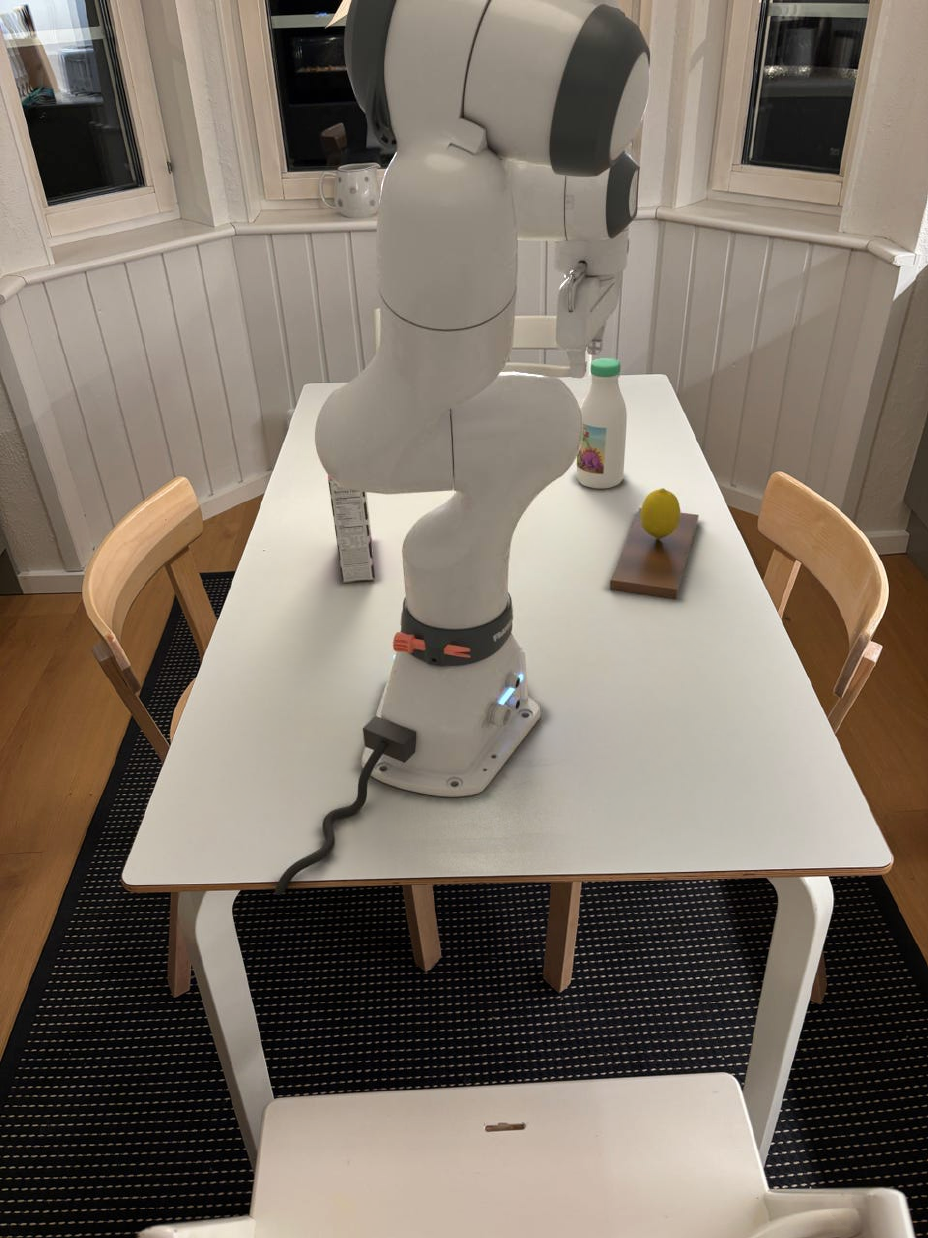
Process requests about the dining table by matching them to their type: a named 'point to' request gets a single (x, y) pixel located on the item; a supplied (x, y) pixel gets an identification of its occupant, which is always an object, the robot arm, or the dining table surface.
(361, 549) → the candy bar box
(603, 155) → the robot arm
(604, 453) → the milk bottle
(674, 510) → the lemon
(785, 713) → the dining table surface
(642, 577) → the serving board
